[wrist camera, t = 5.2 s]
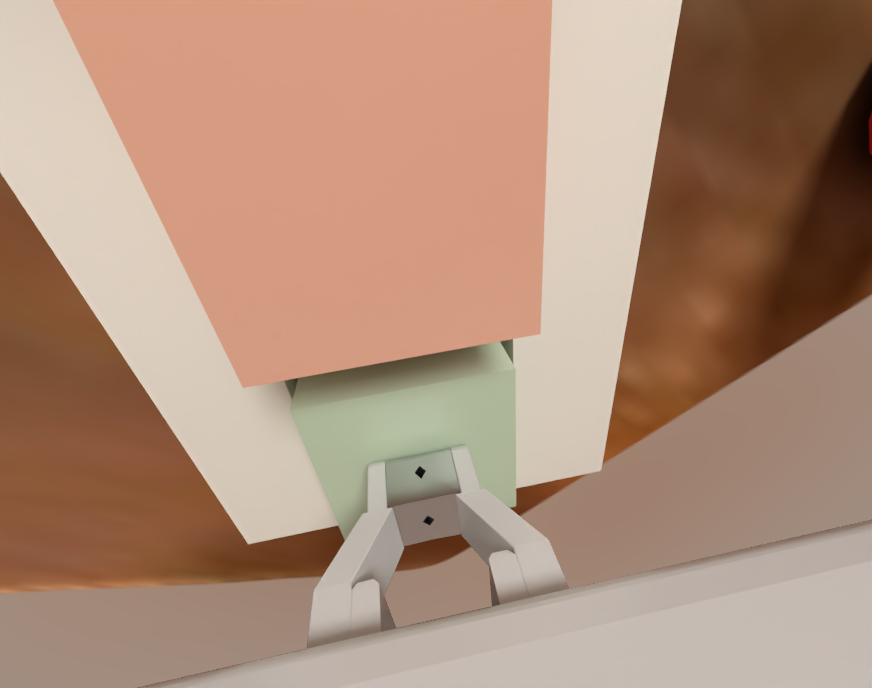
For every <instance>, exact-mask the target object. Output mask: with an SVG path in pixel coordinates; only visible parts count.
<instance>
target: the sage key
mask: <svg viewBox="0 0 872 688" xmlns="http://www.w3.org/2000/svg"><path fill="white" fill-rule="evenodd" d="M290 412H291V415H292V417H293V420H294V422H295V424H296V427H297V429H298V431H299V434H300V436H301V438H302V441H303V443H304V445H305V448H306V450H307V453H308V455H309V457H310V460H311V462H312V464H313V467H314V469H315V471H316V474H317V476H318V478H319V481H320V483H321V486H322V488H323V490H324V493H325V495H326V497H327V500H328V502H329V504H330V507H331V509H332V511H333V514H334V516H335V519H336V521H337V523H338V526H339V528H340V530H341V533H342V535H343V537H344V540H346V539H347V537H348V536H349V534H350V532H351V531H352V529H353V528H354V526H355V525H356V523H357V521H358V520H359V518H360V517H361V515H362V514H363V513H367V471H368V465H369V464H371V463H377V462H382V461H387V460H392V459H398V458H404V457H410V456H416V455H419V454H423V453H428V452H433V451H438V450H442V449H447V448H453V447H458V446H463V445H467V447H468V449H469V453H470V456H471V459H472V463H473V466H474V469H475V473H476V476H477V479H478V483H479V486H480V489H484V488H486V489H487V490H488V491H489V492H491V493H492V494H493V495H494V496H495V497H497V498H498V499H499V500H500V501H502V502H503V503H504V504H505V505H507V506H508V507H509V508H511V507H515V506H516V369H515V367H514V365H513V363H512V362H511V360H510V358H509V356H508V355H507V353H506V351H505V349H504V348H503V346H502V344H501V342H494V343H489V344H483V345H478V346H472V347H467V348H461V349H455V350H450V351H444V352H439V353H433V354H428V355H422V356H417V357H411V358H406V359H400V360H395V361H389V362H384V363H378V364H373V365H367V366H362V367H356V368H351V369H345V370H339V371H334V372H328V373H323V374H317V375H312V376H306V377H301V378H298V381H297V385H296V389H295V392H294V396H293V400H292V404H291V408H290Z"/></svg>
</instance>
